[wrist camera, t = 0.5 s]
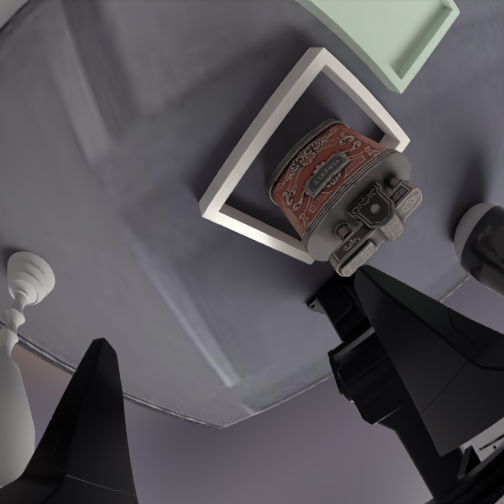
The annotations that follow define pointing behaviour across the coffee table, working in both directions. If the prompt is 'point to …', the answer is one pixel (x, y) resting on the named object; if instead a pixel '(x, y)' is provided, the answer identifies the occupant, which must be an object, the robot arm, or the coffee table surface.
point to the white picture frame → (262, 131)
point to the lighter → (343, 194)
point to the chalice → (7, 371)
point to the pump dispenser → (482, 245)
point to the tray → (387, 32)
